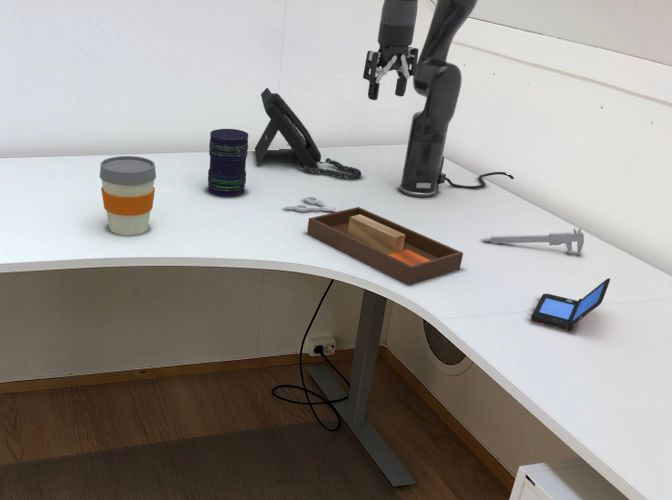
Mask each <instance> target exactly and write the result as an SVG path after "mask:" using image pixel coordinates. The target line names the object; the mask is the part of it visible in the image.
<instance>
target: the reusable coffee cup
mask: <svg viewBox="0 0 672 500" xmlns="http://www.w3.org/2000/svg"><path fill="white" fill-rule="evenodd" d="M156 173H157V172H156V164H155V161H153V160H151V159H149V158H146V157H142V156H135V155H134V156H133V155H120V156H113V157H109V158H105V159H104V160H102V161H101V162H100V167H99V178H100V179H101V185H102V186H101V187H100V189H101V197H102V203H103V208H104V210H105V211H106V218H107V223H108V229H109V231H110V232H112V233H114V234H116V235H121V236H137V235H141V234H144V233H146V232H147V231H148V230H149V222H150V216H151V211H152V210H153V207H154V200H155V199H154V198H155V192H156V188H155V186H154V185H155V180H156V178H157V174H156Z"/></svg>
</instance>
